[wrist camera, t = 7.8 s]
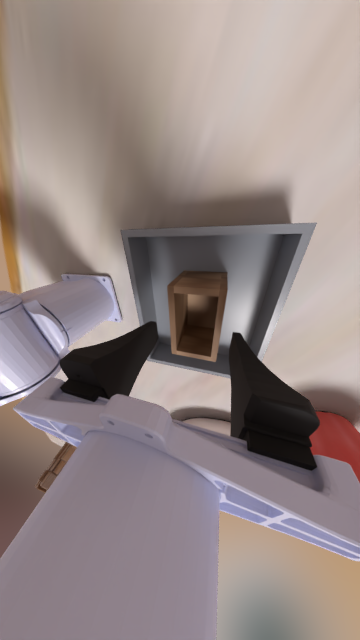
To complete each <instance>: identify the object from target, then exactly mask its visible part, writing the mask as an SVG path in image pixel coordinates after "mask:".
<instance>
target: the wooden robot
mask: <svg viewBox="0 0 360 640" xmlns="http://www.w3.org/2000/svg"><path fill="white" fill-rule="evenodd" d="M76 449H77V447H76V446H74V445H72V444H70V443H68V442H66V443H65V444H64V446H63V447H62V449H61V450H60V451H59V452H58V454H57V455H56V456H55V458H54V460H53V462H52V463H51V464H50V465H49V467H48V468H47V470H45V471H44V472H43V474H42V475H41V476H40V478H39V479H38V481H37V484H36V485H35V487H36V488H37V489H38V490H40V491H42V492H46V490H48V489H49V488H50V486H51V485H52V483H53V482H54V480H55V479H56V477H57V476H58V475H59V473H60V472H61V470H62V469H63V467H64V466H65V464H66V463H67V462H68V460H69V459H70V457H71V456H72V454H73V453H74V451H75V450H76Z"/></svg>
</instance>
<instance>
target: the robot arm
mask: <svg viewBox="0 0 360 640" xmlns="http://www.w3.org/2000/svg"><path fill="white" fill-rule="evenodd" d="M61 277H62V280H63V281H60V282H56V283H53V284H50V285H46V286H43V287H39V288H36V289H33V290H29V291H26V292H24V293H21V294H20V295H18V294H16V293H11V292H7V291H0V406H2V405H4V404H6V403H8V402H11V401H14V400H16V399H19V398H22V397H25V396H27V395H28V396H27V397H26V398H25V399H23V400H22V401H21V402H20V403H18V404H17V405H16V406H15V407H14V408H13V410H14V411H16V412H17V413H18V414H19V415H21V416H22V417H23V418H24V419H25V420H27V421H28V422H29V423H30V424H32V425H33V426H34V427H36V428H38V429H41V430H43V431H45V432H47V433H49V434H52V435H54V436H56V437H58V438H60V439H62V440H64V441H66V442H68V443H70V444H72V445H74V446H76V447H77V449H76V450H75V451H74V453H73V454H72V456H71V457H70V459H69V460H68V462H67V463H66V464H65V466H64V467H63V469H62V470H61V472H60V473H59V475H58V476H57V477H56V479H55V480H54V482H53V483H52V485H51V486H50V488H49V489H48V490H47V492H46V493H45V495H44V496H43V498H42V499H41V501H40V502H39V504H38V505H37V507H36V508H35V509H34V511H33V512H32V514H31V515H30V517H29V518H28V520H27V521H26V522H25V524H24V525H23V527H22V528H21V530H20V531H19V533H18V534H17V535H16V537H15V538H14V540H13V541H12V542H11V544H10V546H9V547H8V548H7V550H6V551H5V553H4V554H3V556H2V557H1V558H0V640H216V626H217V585H218V544H219V543H218V542H219V510H220V511H223V512H226V513H229V514H232V515H235V516H237V517H240V518H243V519H246V520H249V521H252V522H254V523H257V524H260V525H263V526H265V527H268V528H271V529H274V530H277V531H279V532H282V533H285V534H287V535H290V536H293V537H296V538H298V539H301V540H304V541H306V542H309V543H311V544H314V545H317V546H319V547H322V548H324V549H327V550H329V551H332V552H334V553H337V554H339V555H341V556H344V557H346V558H349V559H351V560H354V561H360V483H359V481H358V479H357V477H356V475H355V473H354V471H353V469H352V468H351V466H350V464H348V463H346V462H343V461H340V460H336V459H333V458H329V457H326V456H322V455H313V454H312V452H311V449H310V447H312V443H311V441H310V438H309V436H310V435H312V434H313V433H314V432H315V431H316V430H317V429H318V427H319V426H320V420H319V418H318V416H317V414H316V412H315V410H314V408H313V406H312V405H311V403H310V401H309V400H308V399H306V398H305V397H304V396H302V395H301V394H299V393H298V392H296V391H295V390H293V389H292V388H291V387H289V386H288V385H287V384H285V383H284V382H283V381H282V380H280V379H279V378H278V377H277V376H276V375H274V374H273V373H272V372H271V371H270V370H269V369H268V368H267V367H266V366H265V365H264V364H263V363H262V362H261V361H260V360H259V359H258V357H257V356H256V355H255V354H254V352H253V351H252V350H251V348H250V347H249V346H248V344H247V343H246V341H245V339H244V338H243V336H242V334H241V333H237V332H233V333H232V338H231V343H230V348H229V367H230V377H231V433H230V436H228V435H225V434H221V433H218V432H215V431H211V430H208V429H205V428H202V427H198V426H195V425H192V424H188V423H185V422H182V421H178V420H175V419H172V418H171V415H170V414H169V412H168V411H167V410H166V409H164V408H163V407H161V406H159V405H156V404H153V403H150V402H146V401H143V400H139V399H136V398H132V397H129V394H130V392H131V389H132V387H133V385H134V383H135V380H136V378H137V376H138V374H139V372H140V370H141V368H142V366H143V364H144V363H145V361H146V360H147V358H148V356H149V355H150V353H151V352H152V350H153V348H154V347H155V345H156V343H157V340H158V331H157V323H156V322H155V321H149V322H147V323H146V324H144V325H142V326H140V327H138V328H137V329H135V330H133V331H131V332H129V333H127V334H125V335H123V336H120V337H118V338H116V339H113V340H110V341H107V342H104V343H101V344H97V345H93V346H89V347H84V348H79V349H74V350H72V351H71V352H70V351H69V350H68V347H69V346H70V345H72V344H73V343H74V342H76V341H77V340H79V339H80V338H81V337H83V336H84V335H85V334H87V333H88V332H90V331H91V330H92V329H94V328H95V327H97V326H98V325H99V324H101V323H102V322H103V321H105V320H107V321H114V322H121V321H122V317H121V314H120V310H119V306H118V303H117V299H116V296H115V292H114V288H113V285H112V281H111V278H110V277H109V276H97V275H79V274H61ZM69 352H70V353H69ZM65 355H66V356H65ZM64 356H65V357H64ZM61 368H62V370H63V371H64V373H65V374H66V376H67V377H68V380H67V381H66V382H64V381H63V380H60V379H57V378H54V377H55V376H56V375H57V374H58V372H59V371H60V370H61Z"/></svg>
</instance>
